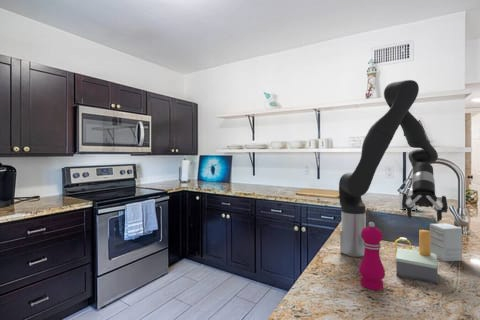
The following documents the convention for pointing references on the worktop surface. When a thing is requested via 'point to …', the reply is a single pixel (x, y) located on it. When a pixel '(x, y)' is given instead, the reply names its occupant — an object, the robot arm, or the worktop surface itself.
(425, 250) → the lid
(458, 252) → the supplement box
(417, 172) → the robot arm
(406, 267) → the parts tub
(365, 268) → the pepper mill
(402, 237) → the watch
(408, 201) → the supplement box
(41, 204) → the worktop surface
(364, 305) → the worktop surface
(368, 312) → the worktop surface
